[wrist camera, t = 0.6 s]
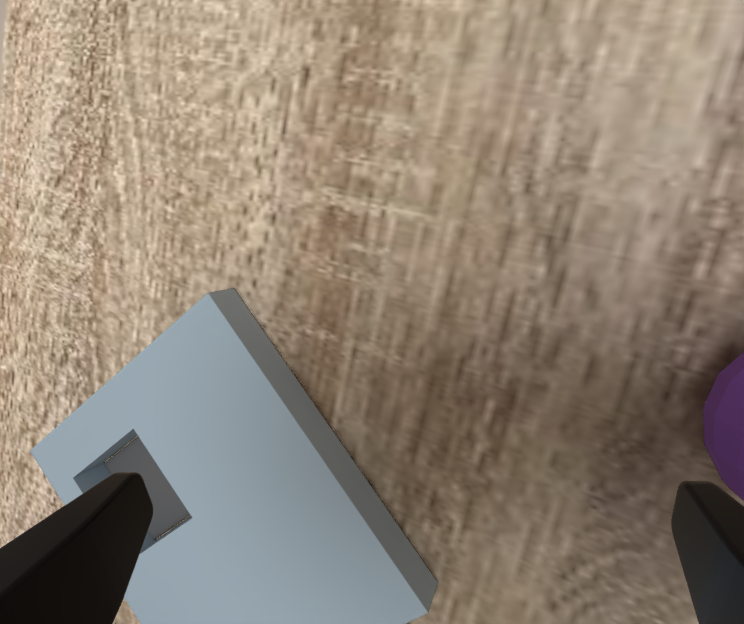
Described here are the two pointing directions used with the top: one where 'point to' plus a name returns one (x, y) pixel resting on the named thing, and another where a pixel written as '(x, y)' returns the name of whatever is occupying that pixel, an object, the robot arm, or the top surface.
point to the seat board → (237, 486)
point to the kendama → (727, 425)
